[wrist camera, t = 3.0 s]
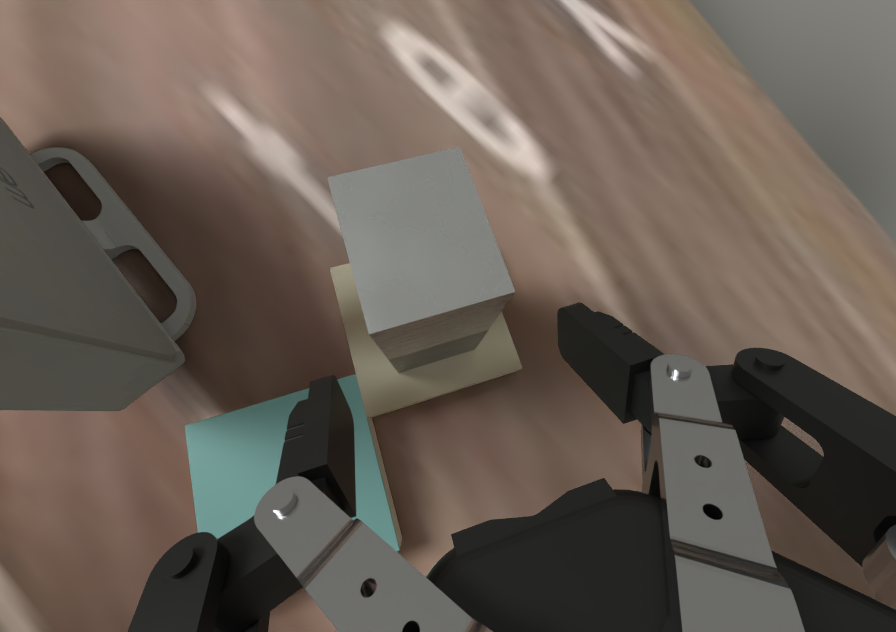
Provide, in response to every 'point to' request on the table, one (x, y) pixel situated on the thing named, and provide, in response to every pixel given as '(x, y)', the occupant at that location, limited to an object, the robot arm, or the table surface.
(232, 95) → the table surface
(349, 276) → the stand
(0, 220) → the network device
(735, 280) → the table surface
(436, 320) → the grey rectangular block
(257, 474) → the stand
